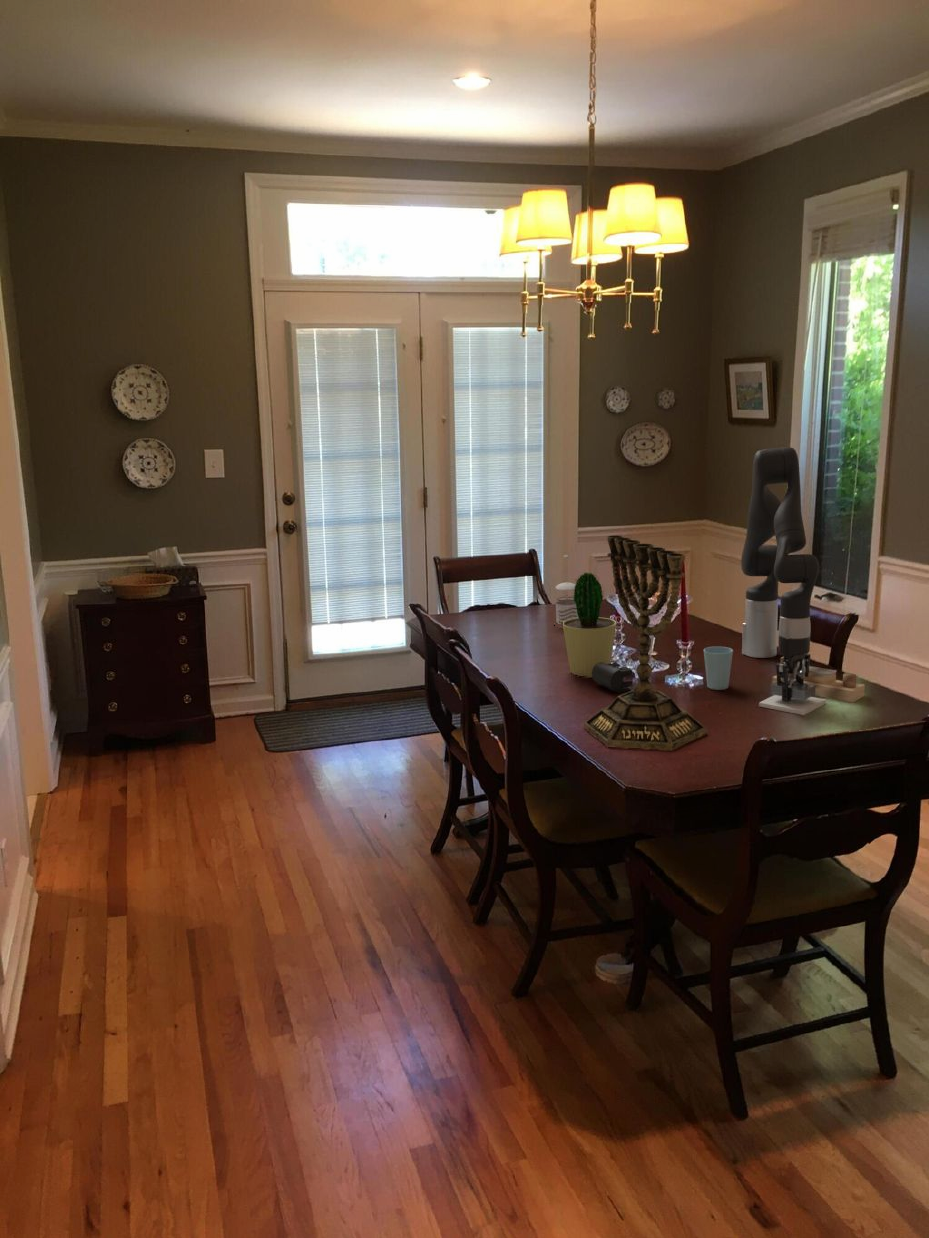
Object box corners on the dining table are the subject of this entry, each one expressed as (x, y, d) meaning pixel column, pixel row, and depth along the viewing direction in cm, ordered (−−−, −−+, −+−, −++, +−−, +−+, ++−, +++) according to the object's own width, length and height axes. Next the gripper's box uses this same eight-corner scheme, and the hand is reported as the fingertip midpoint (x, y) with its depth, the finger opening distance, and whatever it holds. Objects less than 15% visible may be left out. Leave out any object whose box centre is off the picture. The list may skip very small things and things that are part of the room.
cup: (711, 692, 268) (712, 654, 266) (697, 684, 275) (698, 648, 273) (737, 689, 270) (738, 651, 268) (723, 682, 277) (723, 645, 275)
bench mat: (759, 706, 255) (759, 702, 255) (781, 695, 263) (781, 691, 263) (804, 715, 247) (804, 711, 246) (825, 703, 255) (825, 699, 255)
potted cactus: (625, 675, 287) (625, 572, 281) (576, 682, 283) (573, 577, 277) (603, 662, 302) (602, 564, 295) (555, 668, 298) (553, 568, 291)
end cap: (591, 686, 278) (591, 663, 277) (613, 682, 281) (613, 659, 280) (610, 695, 269) (610, 671, 268) (633, 691, 272) (633, 667, 271)
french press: (551, 623, 356) (549, 553, 351) (583, 621, 357) (581, 551, 352) (556, 629, 346) (554, 558, 341) (589, 627, 348) (588, 556, 342)
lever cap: (770, 694, 255) (770, 681, 254) (781, 688, 259) (782, 676, 259) (804, 700, 249) (804, 687, 248) (815, 694, 253) (815, 682, 252)
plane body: (772, 687, 270) (772, 659, 268) (784, 681, 275) (785, 653, 273) (852, 702, 255) (853, 672, 253) (864, 695, 259) (865, 666, 258)
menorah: (730, 748, 226) (733, 551, 216) (627, 763, 220) (625, 560, 210) (658, 703, 261) (658, 531, 251) (567, 715, 254) (564, 539, 245)
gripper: (793, 626, 258) (791, 689, 262) (766, 637, 248) (765, 702, 252) (821, 630, 253) (819, 694, 257) (795, 641, 243) (793, 707, 247)
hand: (792, 697), depth 254 cm, fingers closed on lever cap, 6 cm apart
